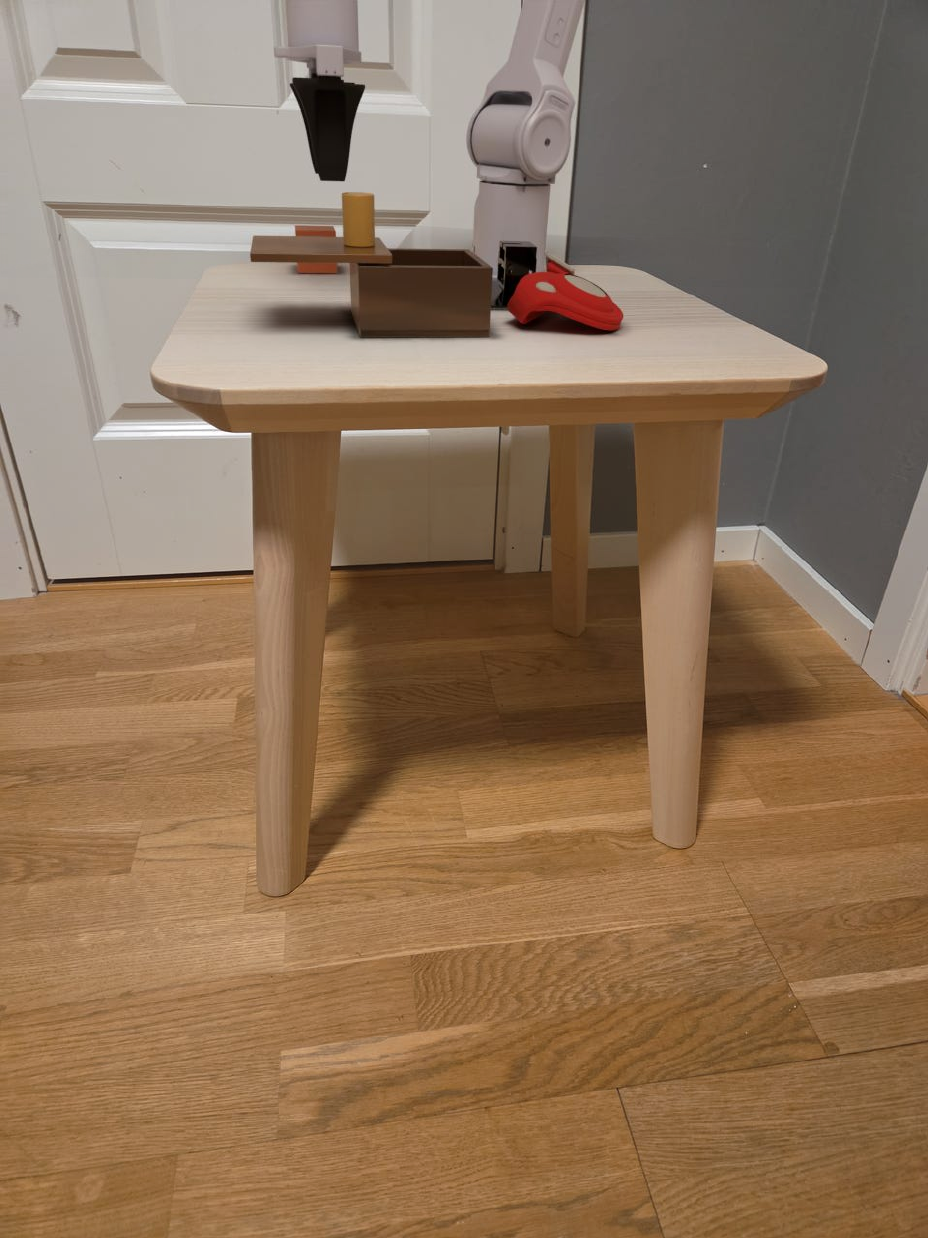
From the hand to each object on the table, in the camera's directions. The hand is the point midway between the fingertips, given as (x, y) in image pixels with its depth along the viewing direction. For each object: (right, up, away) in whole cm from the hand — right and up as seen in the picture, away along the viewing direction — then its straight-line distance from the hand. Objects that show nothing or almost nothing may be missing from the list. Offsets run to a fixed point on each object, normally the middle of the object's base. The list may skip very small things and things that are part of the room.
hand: (329, 177), depth 72 cm
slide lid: (+1, -11, -10) cm, 15 cm away
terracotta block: (-4, -2, +14) cm, 15 cm away
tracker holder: (+21, -13, -2) cm, 25 cm away
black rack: (+17, -8, +6) cm, 20 cm away
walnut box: (+8, -15, -6) cm, 18 cm away
